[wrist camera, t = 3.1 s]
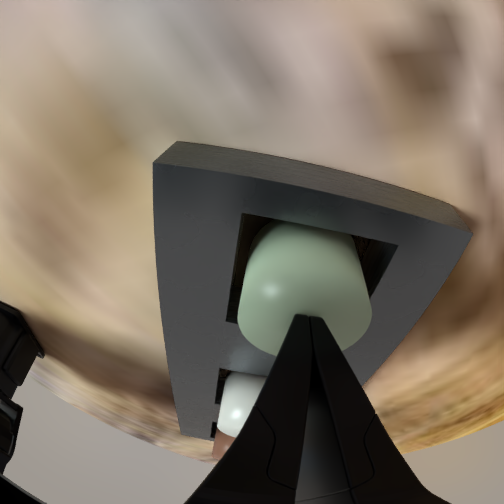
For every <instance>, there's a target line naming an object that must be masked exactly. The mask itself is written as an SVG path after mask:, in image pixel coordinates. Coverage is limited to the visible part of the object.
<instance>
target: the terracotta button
mask: <svg viewBox="0 0 504 504" xmlns="http://www.w3.org/2000/svg"><path fill="white" fill-rule="evenodd" d="M234 440H235V437H232V436H229V435H227V434H225V433H223V432H221V431H220V430H219V429H218V427H217V429H216V435H215V440H214V446H213V451H212V457H213V458H215V459H217V460H220V459H221V458H222V456H223V455H224V454H225V452H226V451H227V450H228V448H229V447H230V446H231V444H232V443H233V441H234Z"/></svg>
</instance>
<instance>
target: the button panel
mask: <svg viewBox="0 0 504 504" xmlns="http://www.w3.org/2000/svg"><path fill="white" fill-rule="evenodd" d="M153 213H154V236H155V253H156V267H157V279H158V290H159V300H160V309H161V318H162V326H163V334H164V341H165V348H166V355H167V362H168V368H169V374H170V380H171V386H172V391H173V396H174V402H175V407H176V412H177V417H178V421H179V426H180V431H181V434H182V435H186V436H191V437H195V438H200V439H205V440H210V441H214V440H215V435H216V429H217V424H218V418H219V413H220V407H221V402H222V396H223V391H224V385H225V380H226V378H223V377H220V371H221V368H222V369H227V370H233V371H238V372H244V373H250V374H257V375H263V376H268V374H269V372H270V369H271V367H272V365H273V363H274V361H275V358H276V356H275V355H272V354H269V353H267V352H264V351H262V350H260V349H259V348H257V347H255V346H254V345H253V344H251V343H250V342H249V341H248V340H247V339H246V338H245V336H244V335H243V334H242V332H241V330H240V328H239V325H238V309H239V304H240V298H241V293H242V288H243V287H237V286H233V284H234V278H235V271H236V265H237V259H238V252H239V246H240V240H241V233H242V227H243V221H244V215H245V213H247V214H253V215H258V216H263V217H269V218H274V219H279V220H284V221H289V222H294V223H299V224H304V225H309V226H314V227H319V228H324V229H328V230H333V231H338V232H343V233H347V234H352V235H356V236H361V237H365V238H370V239H371V241H370V243H369V245H368V248H367V250H366V252H365V254H364V256H363V258H362V261H361V263H360V264H361V268H362V272H363V276H364V280H365V284H366V288H367V292H368V296H369V300H370V304H371V308H372V318H371V322H370V325H369V327H368V329H367V331H366V332H365V333H364V335H363V336H362V337H361V338H360V339H359V340H358V341H357V342H356V343H354V344H353V345H351V346H350V347H348V348H347V349H345V350H343V351H342V352H343V354H344V356H345V358H346V359H347V361H348V363H349V365H350V366H351V368H352V370H353V372H354V374H355V375H356V377H357V379H358V381H359V383H360V384H361V386H362V385H363V384H364V383H365V382H366V381H367V380H368V379H369V378H370V377H371V376H372V375H373V374H374V372H375V371H376V370H377V369H378V368H379V367H380V366H381V365H382V364H383V362H384V361H385V360H386V359H387V358H388V357H389V355H390V354H391V353H392V352H393V351H394V350H395V348H396V347H397V346H398V345H399V343H400V342H401V341H402V340H403V339H404V337H405V336H406V335H407V334H408V332H409V331H410V330H411V328H412V327H413V326H414V325H415V323H416V322H417V321H418V319H419V318H420V317H421V315H422V314H423V312H424V311H425V310H426V308H427V307H428V306H429V304H430V303H431V301H432V300H433V298H434V297H435V296H436V294H437V293H438V291H439V290H440V288H441V287H442V285H443V284H444V282H445V281H446V279H447V278H448V276H449V274H450V273H451V271H452V270H453V268H454V266H455V265H456V263H457V262H458V260H459V258H460V257H461V255H462V253H463V251H464V250H465V248H466V246H467V244H468V243H469V241H470V239H471V237H472V235H473V233H472V232H471V230H470V229H469V228H468V226H467V225H466V224H465V222H464V221H463V220H462V219H461V217H460V216H459V215H458V214H457V213H456V211H455V210H454V209H453V208H452V207H451V205H450V204H448V203H445V202H442V201H440V200H437V199H434V198H431V197H428V196H425V195H422V194H419V193H416V192H413V191H410V190H407V189H403V188H400V187H397V186H394V185H390V184H387V183H384V182H380V181H377V180H373V179H370V178H366V177H362V176H359V175H355V174H351V173H347V172H343V171H339V170H335V169H331V168H327V167H323V166H319V165H314V164H310V163H305V162H301V161H296V160H291V159H286V158H281V157H276V156H271V155H266V154H260V153H255V152H249V151H243V150H237V149H231V148H224V147H217V146H210V145H203V144H195V143H187V142H178V141H176V142H175V143H174V144H173V145H172V146H171V147H169V148H168V149H167V150H166V151H165V152H164V153H163V154H162V155H160V156H159V157H158V158H157V159H156V160H155V161H154V162H153Z"/></svg>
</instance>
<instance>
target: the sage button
mask: <svg viewBox="0 0 504 504" xmlns="http://www.w3.org/2000/svg"><path fill="white" fill-rule="evenodd" d="M295 314H303V315H307V316H308V317H309V316H317V317H322V318H323V319H324V321H325V323H326V324H327V326H328V328H329V329H330V331H331V333H332V335H333V336H334V338H335V340H336V342H337V343H338V345H339V347H340V349H341V350H342V351H343V350H345V349H347V348H348V347H350V346H351V345H353V344H354V343H356V342H357V341H358V340H359V339H360V338H361V337H362V336H363V335H364V333H365V332H366V331H367V329H368V327H369V325H370V322H371V318H372V308H371V304H370V300H369V296H368V292H367V288H366V284H365V280H364V276H363V272H362V268H361V264H360V261H359V257H358V254H357V250H356V247H355V243H354V240H353V238H352V236H351V235H350V234H347V233H343V232H338V231H333V230H328V229H324V228H319V227H314V226H309V225H304V224H299V223H294V222H289V221H284V220H279V219H274V220H272V221H271V222H269V223H268V224H266V225H265V226H264V227H263V228H262V229H261V230H260V231H259V232H258V233H257V234H256V236H255V237H254V239H253V241H252V243H251V246H250V250H249V255H248V261H247V266H246V271H245V277H244V282H243V288H242V293H241V298H240V304H239V309H238V325H239V328H240V330H241V332H242V334H243V335H244V336H245V338H246V339H247V340H248V341H249V342H250V343H251V344H253V345H254V346H255V347H257V348H259V349H260V350H262V351H264V352H267V353H269V354H272V355H275V356H277V354H278V352H279V349H280V347H281V345H282V343H283V340H284V338H285V336H286V333H287V331H288V329H289V326H290V324H291V322H292V319H293V317H294V315H295Z"/></svg>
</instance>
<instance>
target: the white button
mask: <svg viewBox="0 0 504 504" xmlns="http://www.w3.org/2000/svg"><path fill="white" fill-rule="evenodd" d="M266 378H267V376H263V375H257V374H250V373H244V372H238V371H233V370H232V371H230V372H229V373H228V374H227V376H226V380H225V385H224V391H223V396H222V402H221V407H220V413H219V418H218V424H217V427H218V429H219V430H220V431H221V432H223V433H225V434H227V435H229V436H232V437H235V438H236V437H237V435H238V434H239V432H240V430H241V429H242V427H243V425H244V423H245V421H246V419H247V418H248V416H249V414H250V412H251V409H252V407H253V406H254V404H255V402H256V399H257V397H258V395H259V393H260V391H261V389H262V387H263V385H264V383H265V380H266Z"/></svg>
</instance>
